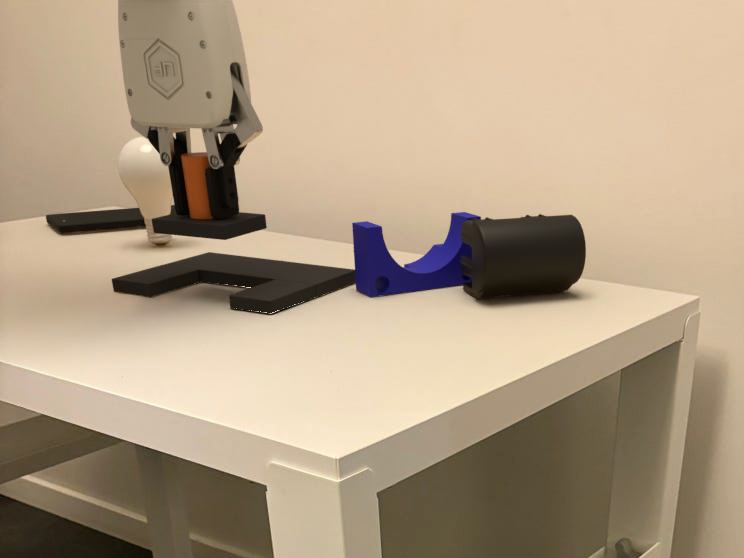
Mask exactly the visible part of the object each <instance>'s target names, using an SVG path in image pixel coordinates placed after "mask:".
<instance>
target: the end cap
mask: <svg viewBox="0 0 744 558" xmlns="http://www.w3.org/2000/svg"><path fill="white" fill-rule="evenodd" d="M460 237H461V241H462V242H464V243H466V244H468V245H470V246H471V248H472V259H471V258H469V257H467V256H461V261H460V263H461V270H462V272H463V273H464V274H465V275H467V276H468V277H470V278H472V282H465V283H463V285H462V290H463V291H464V292H466V293H467V294H469V295H470V296H471V297H473V298H475V299H478V300H479V299H489V298H501V297H511V296H512V297H513V296H522V295H535V294H546V293H557V292H558V293H559V292H567V291H569V290H570V288H571V287H573V285H575V284H576V283H578V282H579V280H581V277H582V275H583V273H584V269H585V264H586V258H587V247H586V246H587V245H586V244H587V243H586V237H585V233H584V228H583V226H582V224H581V222H580V220H579V219H578V218H577V217H576V216H575V215H573V214H560V215H558V214H557V215H544V214H542V213H539V214H538V215H529V214H526V215H525V216H520V217H511V218H495V219H493V218H490V217H485V218H481V220H477V219H475V218H473V219H472V220H467V221H465V222H463V224H462V226H461V234H460Z"/></svg>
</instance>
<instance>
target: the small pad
mask: <svg viewBox="0 0 744 558" xmlns="http://www.w3.org/2000/svg"><path fill="white" fill-rule="evenodd" d="M181 160H182V167H183V173H184V180H185V186H186V193H187V199H188V206H189V212H190V214H189V215H185V216H179V215H177V214H176V213H174V214H170V215H166V216H162V217H157V218H153V219H152V225H153V231H154V233H159V234H169V235H172V236H180V237H191V238H198V239H199V238H200V239H201V238H202V239H210V240H221V241H227V240H230V239H234V238H236V237H237V238H238V237H241V236H245V235H247V234H252V233H255V232H259V231H262V230H266V229H267V228H268V226H267V217H266V214H265V213H263V214H262V213H255V212H254V213H253V212H242V211H239V213H238V214H237V215H234V216H230V217H226V218H222V219H214V218H213V217H212V216H211V212H210V205H209V199H208V192H207V185H206V178H205V169H208V168H211V166H210V164H209V160H208V156H207V151H203V152H202V151H201V152H200V151H199V152H198V151H197V152H191V153H186V154H182V155H181Z"/></svg>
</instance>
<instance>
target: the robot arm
mask: <svg viewBox="0 0 744 558" xmlns="http://www.w3.org/2000/svg"><path fill="white" fill-rule="evenodd" d="M117 25H118V40H119V51H120V52H119V53H120V62H121V71H122V78H123V79H122V80H123V85H124V92H125V98H126V104H127V108H128V112H129V114H130V125H131V127H132V129H133V130H134V131H135V132H137V133H138V134H139V135H140V136H144V137H145V138H146V139H148V140H149V142H150V143H151V144H152V146H153V147H154V148H155V149H156V150H157V152H158V153H159V154H160V160H161V162H162V163H163V164H164V165H165V166H169V167H168V168H169V174H170V180H171V186H172V193H173V197H172V200H173V205H175V211H176V214H177V215H179V216H185V215H189V214H190V212H189V206H188V199H187V193H186V186H185V180H184V173H183V167H182V160H181V155H182V154H186V153H192V142H191V141H192V140H191V139H192V138H191V129H201V133H202V139H203V142H204V147H205V152H207V156H208V160H209V164H210V166H211V168H208V169H205V178H206V185H207V192H208V199H209V205H210V212H211V216H212V217H213V218H214V219H222V218H226V217H230V216H234V215H237V214H238V213H239V212H240V204H239V193H238V184H237V178H236V170H235V166H238V165H239V164H240V161H241V156H242V154H243V153H244V151H245V149H246V147H247V146H248V144H250V143H251V142H252V141H254V140H255V139H256V138H258V137H259V136H260V135H261V134H262V133H263V130H264V129H263V125H262V124H263V123H262V122H261V120H260V118H259V116H258V114H257V113H256V110H255V109H254V106H253V105H252V93H251V84H250V78H249V70H248V64H247V58H246V53H245V47H244V43H243V37H242V34H241V33H242V32H241V28H240V24H239V20H238V15H237V12H236V9H235V5H234V1H233V0H117ZM234 125H236V126H235V127H234ZM174 134H175V136H174ZM219 136H220V137H219ZM220 140H221V142H220Z"/></svg>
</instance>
